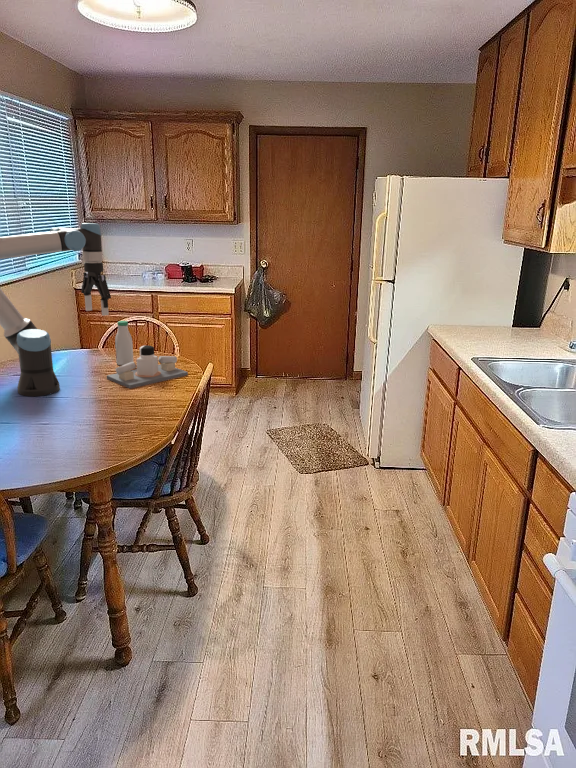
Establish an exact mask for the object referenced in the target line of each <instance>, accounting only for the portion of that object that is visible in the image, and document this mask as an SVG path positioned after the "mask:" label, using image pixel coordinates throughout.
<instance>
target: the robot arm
mask: <svg viewBox="0 0 576 768" xmlns="http://www.w3.org/2000/svg"><path fill="white" fill-rule="evenodd" d="M102 241H103V240H102V229H101V225H100V224H99V223H95V222H94V223H93V222H82V223H81V224H80V227H77V228H76V227H74V228H73V227H52V228H50V230H49V231H45V232H36V233H26V234H17V235H7V236H0V260H1V259H2V260H3V259H11V258H20V257H28V256H34V255H42V254H50V253H51V254H52V253H59V252H67V251H73V252H77V251H81V250H82V256H83V261H84V262H83V266H84V267H83V268H84V272H83V279H82V284H81V291H80V292H81V294H83V296H84V305H85V308H84V309H85V311H86V312H90V311H93V302H92V301H93V300H92V290H93V287H96V288H97V291H98V294H99V295H100V297H101V298H100V305H101V308H100V309H101V316H103V317H104V316H109V315H110V313H109V300H110V299H112V296H111V295H112V294H111V293H110V289H109V285H108V283H107V277H106V275H105V274H102V272H104V263H103V262H102V261H103V255H104V254H103V246H102ZM0 327H1V328H2V329H3V330H4V331H3V336H4V338H5V339H6V340H7V341H8V342H9V344H10V345H11V346H12V348H13V349H14V350H15V352H16V353H17V354H18V359H19V368H20V375H19V379H18V383H17V393H18V394H19V395H21V396H24V397H41V396H48V395H52V394H54V393H57V392H59V390H60V389H61V386H60V382H59V379H58V377H57V376H56V373H55V371H54V364H53V354H52V344H51V343H52V339H51V335H50V333H49V332H48V331H46V330H44V329H42V330H41V329H40V328H39V329H38V328H37V327H36V325H35V323H33V321H32V320H31V319H30V318H26V317H24V316H23V315H22V314H21V313H20V312H19V310H18V309H17V307H16V306H15V305H14V303H13V302H12V301H11V300H10V298H9V297H8V296H7V295H6V293H5V292H4V291H3V290H2V288H1V287H0Z"/></svg>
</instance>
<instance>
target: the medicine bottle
mask: <svg viewBox="0 0 576 768" xmlns="http://www.w3.org/2000/svg"><path fill="white" fill-rule="evenodd" d="M158 359H159V356H157V355H155V347H154V346H152V345H148V344H147V345H141V346H140V347H139V357H137V358H136V369H137V375H146V376H153V375H155V374H156V373H157V372H158V365H159V360H158Z"/></svg>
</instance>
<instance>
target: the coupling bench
mask: <svg viewBox="0 0 576 768" xmlns="http://www.w3.org/2000/svg"><path fill="white" fill-rule="evenodd" d="M177 361H178V357H177V356H175V355H172V356H170V355H160V356H158V372H157V373H156V374H155V375H153V376H146V375H137V364H136V362H134V361H133V362H130V363H127V364H125V365H119V366H118V367H115V373H112V374H108V375H106V379H107V380H109V381H111V382H114V383H116V384H119V385H121V386H122V387H125V388H127V389H129V390H130V389H134V388H138V387H143V386H148V385H152V384H157V383H161V382H165V381H169V380H174V379H178V378H181V377H182V378H183V377H187V376H188V375H189V372H188V371H186V370H183V369H180V368H177V367H176V363H177ZM159 363H160V364H159ZM186 375H187V376H186Z"/></svg>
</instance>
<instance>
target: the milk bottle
mask: <svg viewBox="0 0 576 768" xmlns="http://www.w3.org/2000/svg"><path fill="white" fill-rule="evenodd" d="M116 323H117V332H116V334H115V338H114V340H115V341H114V342H115V345H114V346H115V348H114V349H115V359H116V361H115V363H116V365H118V366H122V365H125V364H127V363H130V362H134V349H133V347H134V346H133V338H132V335H131V333H130V331H129V328H128V327H129V323H128V321H127V320H119V321H117V322H116Z"/></svg>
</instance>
